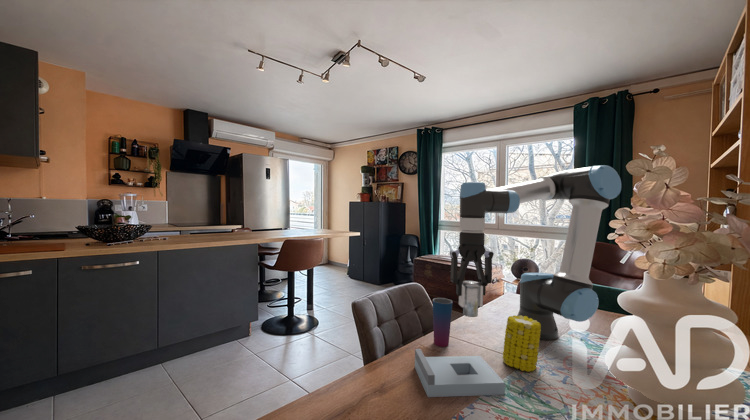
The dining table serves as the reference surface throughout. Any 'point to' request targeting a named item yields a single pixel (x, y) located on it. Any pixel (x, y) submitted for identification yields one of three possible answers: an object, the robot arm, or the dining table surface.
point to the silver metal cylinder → (471, 298)
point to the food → (521, 343)
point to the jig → (457, 376)
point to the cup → (442, 321)
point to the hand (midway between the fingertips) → (470, 305)
